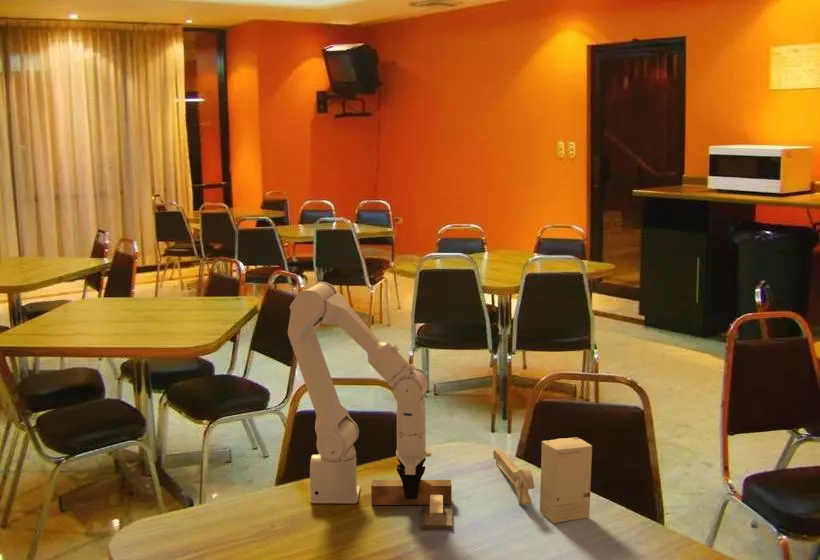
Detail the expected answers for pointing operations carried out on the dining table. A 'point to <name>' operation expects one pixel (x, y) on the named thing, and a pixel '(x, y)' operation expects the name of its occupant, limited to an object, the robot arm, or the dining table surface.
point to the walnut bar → (394, 493)
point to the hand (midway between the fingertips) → (411, 494)
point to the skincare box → (565, 479)
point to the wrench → (515, 476)
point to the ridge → (436, 515)
